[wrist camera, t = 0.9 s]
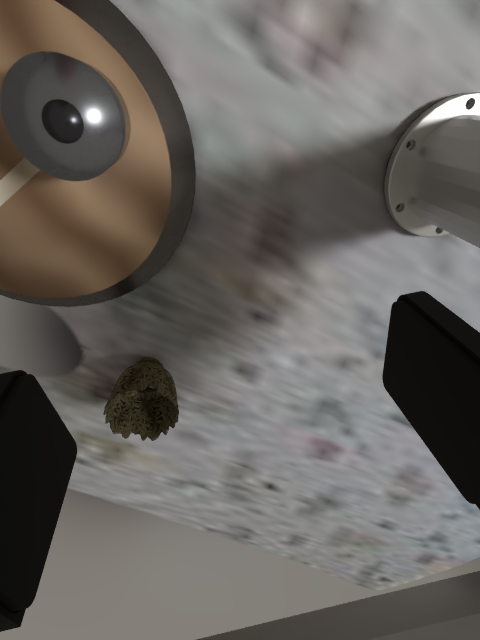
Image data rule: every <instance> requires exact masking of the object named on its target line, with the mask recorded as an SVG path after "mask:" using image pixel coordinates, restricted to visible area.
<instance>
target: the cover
mask: <svg viewBox="0 0 480 640" xmlns="http://www.w3.org/2000/svg"><path fill="white" fill-rule="evenodd" d="M0 104H1V112H2V117H3V121H4V124H5V127H6V129H7V131H8V133H9V136H10V137H11V139H12V141H13V142H14V144H15V145H16V147H17V148H18V150H19V151H20V152H21V153H22V154H23V155H24V157H25V158H26V159H27V160H29V161H30V162H31V163H32V164H33V165H34V166H36V167H37V168H38V169H40V170H42V171H43V172H45V173H47V174H49V175H51V176H53V177H56V178H59V179H63V180H67V181H85V180H90V179H93V178H95V177H97V176H99V175H101V174H102V173H104V172H105V171H106V170H108V169H109V168H110V167H111V166H113V165H114V164H115V163H116V162H117V161H118V160H119V159H120V158H121V157H122V156H123V154H124V153H125V151H126V149H127V146H128V143H129V139H130V132H131V125H130V117H129V112H128V109H127V106H126V103H125V101H124V99H123V97H122V95H121V93H120V92H119V90H118V89H117V87H116V86H115V85H114V83H113V82H112V81H111V80H110V79H109V78H108V77H107V76H106V75H105V74H104V73H102V72H101V71H100V70H98V69H97V68H95V67H93V66H92V65H89V64H87V63H85V62H83V61H80V60H78V59H75V58H73V57H70V56H68V55H64V54H61V53H57V52H50V51H41V52H35V53H31V54H29V55H26V56H24V57H22V58H21V59H19V60H18V61H17V62H16V63H14V64H13V65H12V67H11V68H10V69H9V70H8V72H7V74H6V76H5V78H4V81H3V84H2V88H1V97H0Z"/></svg>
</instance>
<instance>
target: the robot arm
mask: <svg viewBox="0 0 480 640" xmlns="http://www.w3.org/2000/svg"><path fill="white" fill-rule="evenodd" d="M407 143H408V145H407ZM406 145H407V146H406ZM384 193H385V201H386V205H387V208H388V210H389V213H390V214H391V216H392V218H393V219H394V221H395V222H396V223H397V224H399V225H400V226H401V227H402V228H404V229H405V230H407V231H409V232H410V233H413V234H416V235H418V236H424V237H439V236H443V235H447V234H453V235H455V236H457V237H459V238H461V239H463V240H465V241H467V242H469V243H471V244H473V245H475V246H477V247H479V248H480V93H478V92H473V93H462V94H458V95H454V96H450V97H448V98H446V99H444V100H442V101H440V102H437V103H435V104H434V105H433V106H431V107H430V108H428V109H427V110H426V111H424V112H423V113H422V114H421V115H420V116H419V117H418V118H417V119H416V120H415V121H414V122H413V123H412V124H411V125H410V126H409V127H408V129H407V130H406V131H405V132H404V134H403V135H402V136H401V138H400V140H399V142H398V143H397V145H396V147H395V149H394V150H393V153H392V155H391V158H390V160H389V163H388V167H387V171H386V175H385V185H384ZM396 206H397V207H396ZM383 384H384V387H385V389H386V390H387V392H388V393H389V395H390V396H391V397H392V399H393V400H394V402H395V403H396V404H397V406H398V407H399V408H400V410H401V411H402V413H403V414H404V415H405V417H406V418H407V419H408V421H409V422H410V424H411V425H412V426H413V428H414V429H415V431H416V432H417V433H418V435H419V436H420V437H421V439H422V440H423V442H424V443H425V444H426V446H427V447H428V448H429V450H430V451H431V453H432V454H433V455H434V457H435V458H436V460H437V461H438V462H439V464H440V465H441V466H442V468H443V469H444V471H445V472H446V473H447V475H448V476H449V477H450V479H451V480H452V482H453V483H454V484H455V486H456V487H457V489H458V490H459V491H460V493H461V494H462V495H463V497H464V498H465V499H466V500H467V501H468V502H469V503H472V504H476V505H477V507H478V508H479V509H480V333H479V332H478V331H477V330H475V329H474V328H473V327H471V326H470V325H469V324H467V323H466V322H465V321H464V320H462V319H461V318H460V317H458V316H457V315H456V314H454V313H453V312H452V311H450V310H449V309H448V308H446V307H445V306H444V305H442V304H441V303H440V302H439V301H437V300H436V299H435V298H433V297H432V296H431V295H429V294H428V293H426V292H425V291H420V292H415V293H409V294H404V295H401V296H399V298H398V299H397V302H394V303H393V304H392V308H391V316H390V323H389V331H388V338H387V346H386V354H385V361H384V369H383ZM76 455H77V446H76V442H75V440H74V439H73V437H72V435H71V434H70V432H69V431H68V429H67V427H66V426H65V424H64V423H63V421H62V420H61V418H60V416H59V415H58V413H57V412H56V410H55V408H54V407H53V405H52V404H51V402H50V400H49V399H48V397H47V396H46V394H45V392H44V391H43V389H42V388H41V386H40V384H39V383H38V381H37V380H36V378H35V377H34V376H33V375H31V374H27V373H26V372H24V371H22V370H18V371H13V372H8V373H3V374H0V632H1V631H5V630H9V629H13V628H18V627H20V626H21V622H22V620H23V616H24V613H25V610H26V608H28V607H29V606H30V605H31V604H32V603H33V600H34V598H35V596H36V593H37V589H38V586H39V582H40V579H41V575H42V572H43V569H44V565H45V562H46V558H47V555H48V551H49V548H50V545H51V541H52V538H53V534H54V531H55V528H56V524H57V521H58V517H59V513H60V510H61V507H62V504H63V500H64V497H65V493H66V490H67V487H68V483H69V480H70V476H71V473H72V469H73V466H74V463H75V459H76ZM197 640H480V571H477V572H473V573H469V574H465V575H461V576H457V577H452V578H448V579H444V580H440V581H436V582H431V583H427V584H423V585H419V586H415V587H411V588H406V589H402V590H398V591H394V592H390V593H386V594H382V595H378V596H373V597H369V598H365V599H360V600H356V601H352V602H348V603H344V604H340V605H336V606H332V607H328V608H323V609H320V610H315V611H311V612H307V613H303V614H299V615H295V616H291V617H287V618H283V619H278V620H274V621H270V622H266V623H262V624H258V625H254V626H250V627H246V628H242V629H238V630H233V631H230V632H225V633H222V634H217V635H213V636H209V637H205V638H201V639H197Z"/></svg>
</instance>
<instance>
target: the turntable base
mask: <svg viewBox="0 0 480 640" xmlns="http://www.w3.org/2000/svg"><path fill="white" fill-rule="evenodd" d="M55 1H56V2H58V3H59V4H61V5H62V6H64V7H65V8H67V9H69V10H70V11H72V12H73V13H75V14H76V15H77V16H79V17H80V18H81V19H82V20H83V21H85V22H86V23H87V24H88V25H90V26H91V27H92V28H93V29H94V30H96V31H97V32H98V33H99V34H101V35H102V36H103V37H104V38H105V39H106V40H107V41H108V42H109V43H110V44H111V45H112V47H113V48H114V49H115V50H116V51H117V52H118V53H119V54H120V55H121V56H122V57H123V59H124V60H125V61H126V62H127V64H128V65H129V66H130V68H131V69H132V70H133V71H134V73H135V74H136V76H137V77H138V79H139V80H140V82H141V84H142V85H143V87H144V88H145V90H146V92H147V93H148V95H149V97H150V99H151V101H152V103H153V105H154V107H155V109H156V111H157V114H158V116H159V119H160V122H161V124H162V127H163V130H164V133H165V136H166V141H167V145H168V149H169V153H170V162H171V170H172V191H171V198H170V205H169V211H168V215H167V218H166V222H165V225H164V228H163V231H162V233H161V235H160V237H159V240H158V242H157V244H156V245H155V247H154V248H153V250H152V251H151V253H150V255H149V256H148V257H147V258H146V259H145V260H144V262H143V263H142V264H141V265H140V266H139V267H138V268H137V269H136V270H135V271H133V272H132V273H131V274H130V275H129V276H127V277H126V278H124V279H123V280H121V281H120V282H118V283H116V284H114V285H112V286H110V287H108V288H106V289H104V290H101V291H97V292H94V293H91V294H87V295H82V296H77V297H67V298H41V297H34V296H27V295H22V294H18V293H14V292H10V291H6V290H3V289H0V295H3V296H6V297H9V298H12V299H16V300H20V301H24V302H28V303H33V304H40V305H47V306H66V307H70V306H84V305H90V304H96V303H101V302H105V301H108V300H111V299H114V298H117V297H120V296H122V295H124V294H126V293H128V292H130V291H133V290H134V289H136V288H137V287H139V286H141V285H142V284H144V283H145V282H147V281H148V280H149V279H150V278H151V277H153V276H154V275H155V274H156V273H157V272H158V271H159V270H160V269H161V268H162V267H163V266H164V265H165V264H166V262H167V261H168V260H169V259H170V257H171V256H172V254H173V253H174V251H175V250H176V248H177V247H178V245H179V243H180V241H181V239H182V237H183V235H184V233H185V230H186V228H187V224H188V221H189V218H190V215H191V211H192V205H193V200H194V194H195V160H194V149H193V144H192V139H191V134H190V129H189V125H188V122H187V119H186V115H185V112H184V109H183V106H182V103H181V101H180V99H179V97H178V94H177V92H176V90H175V88H174V85H173V83H172V81H171V79H170V77H169V76H168V74H167V72H166V70H165V69H164V67H163V65H162V63H161V62H160V60H159V58H158V57H157V55H156V54H155V52H154V51H153V50H152V48H151V47H150V46H149V44H148V43H147V42H146V40H145V39H144V37H143V36H142V35H141V33H140V32H139V31H138V30H137V29H136V27H135V26H134V25H133V24H132V23H131V22H130V21H129V20H128V19H127V18H126V16H125V15H124V14H123V13H122V12H121V11H120V10H119V9H118V8H117V7H116V6H115V5H114V4H113V3H111V2H110V1H109V0H55Z"/></svg>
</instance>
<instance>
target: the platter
mask: <svg viewBox="0 0 480 640" xmlns="http://www.w3.org/2000/svg"><path fill="white" fill-rule="evenodd" d="M41 51H50V52H57V53H61V54H64V55H68V56H70V57H73V58H75V59H78V60H80V61H83V62H85V63H87V64H89V65H92V66H93V67H95V68H97V69H98V70H100V71H101V72H102V73H104V74H105V75H106V76H107V77H108V78H109V79H110V80H111V81H112V82H113V83H114V85H115V86H116V87H117V89H118V90H119V92H120V93H121V95H122V97H123V99H124V101H125V103H126V106H127V109H128V112H129V117H130V125H131V132H130V139H129V143H128V146H127V149H126V151H125V153H124V154H123V156H122V157H121V158H120V159H119V160H118V161H117V162H116V163H115V164H114V165H113V166H111V167H110V168H109V169H108V170H106V171H105V172H104V173H102V174H101V175H99V176H97V177H95V178H93V179H90V180H85V181H67V180H63V179H59V178H56V177H53V176H51V175H49V174H47V173H45V172H43V171H42V170H40V169H38V168H37V167H36V166H34V165H33V164H32V163H31V162H30V161H29V160H27V159H26V158H25V157H24V155H23V154H22V153H21V152H20V151H19V150H18V148H17V147H16V145H15V144H14V142H13V141H12V139H11V137H10V136H9V133H8V131H7V129H6V127H5V124H4V121H3V117H2V112H1V104H0V289H3V290H6V291H10V292H14V293H18V294H22V295H27V296H34V297H41V298H67V297H77V296H82V295H87V294H91V293H94V292H97V291H101V290H104V289H106V288H108V287H110V286H112V285H114V284H116V283H118V282H120V281H121V280H123V279H124V278H126V277H127V276H129V275H130V274H131V273H132V272H133V271H135V270H136V269H137V268H138V267H139V266H140V265H141V264H142V263H143V262H144V260H145V259H146V258H147V257H148V256H149V255H150V253H151V251H152V250H153V248H154V247H155V245H156V244H157V242H158V240H159V237H160V235H161V233H162V231H163V228H164V225H165V222H166V218H167V215H168V211H169V205H170V198H171V191H172V170H171V162H170V153H169V149H168V145H167V141H166V136H165V133H164V130H163V127H162V124H161V122H160V119H159V116H158V114H157V111H156V109H155V107H154V105H153V103H152V101H151V99H150V97H149V95H148V93H147V92H146V90H145V88H144V87H143V85H142V84H141V82H140V80H139V79H138V77H137V76H136V74H135V73H134V71H133V70H132V69H131V68H130V66H129V65H128V64H127V62H126V61H125V60H124V59H123V57H122V56H121V55H120V54H119V53H118V52H117V51H116V50H115V49H114V48H113V47H112V45H111V44H110V43H109V42H108V41H107V40H106V39H105V38H104V37H103V36H102V35H101V34H99V33H98V32H97V31H96V30H94V29H93V28H92V27H91V26H90V25H88V24H87V23H86V22H85V21H83V20H82V19H81V18H80V17H79V16H77V15H76V14H75V13H73V12H72V11H70V10H69V9H67V8H65V7H64V6H62V5H61V4H59V3H58V2H56V1H55V0H0V97H1V88H2V84H3V81H4V78H5V76H6V74H7V72H8V70H9V69H10V68H11V67H12V65H13V64H14V63H16V62H17V61H18V60H19V59H21V58H22V57H24V56H26V55H29V54H31V53H35V52H41Z"/></svg>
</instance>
